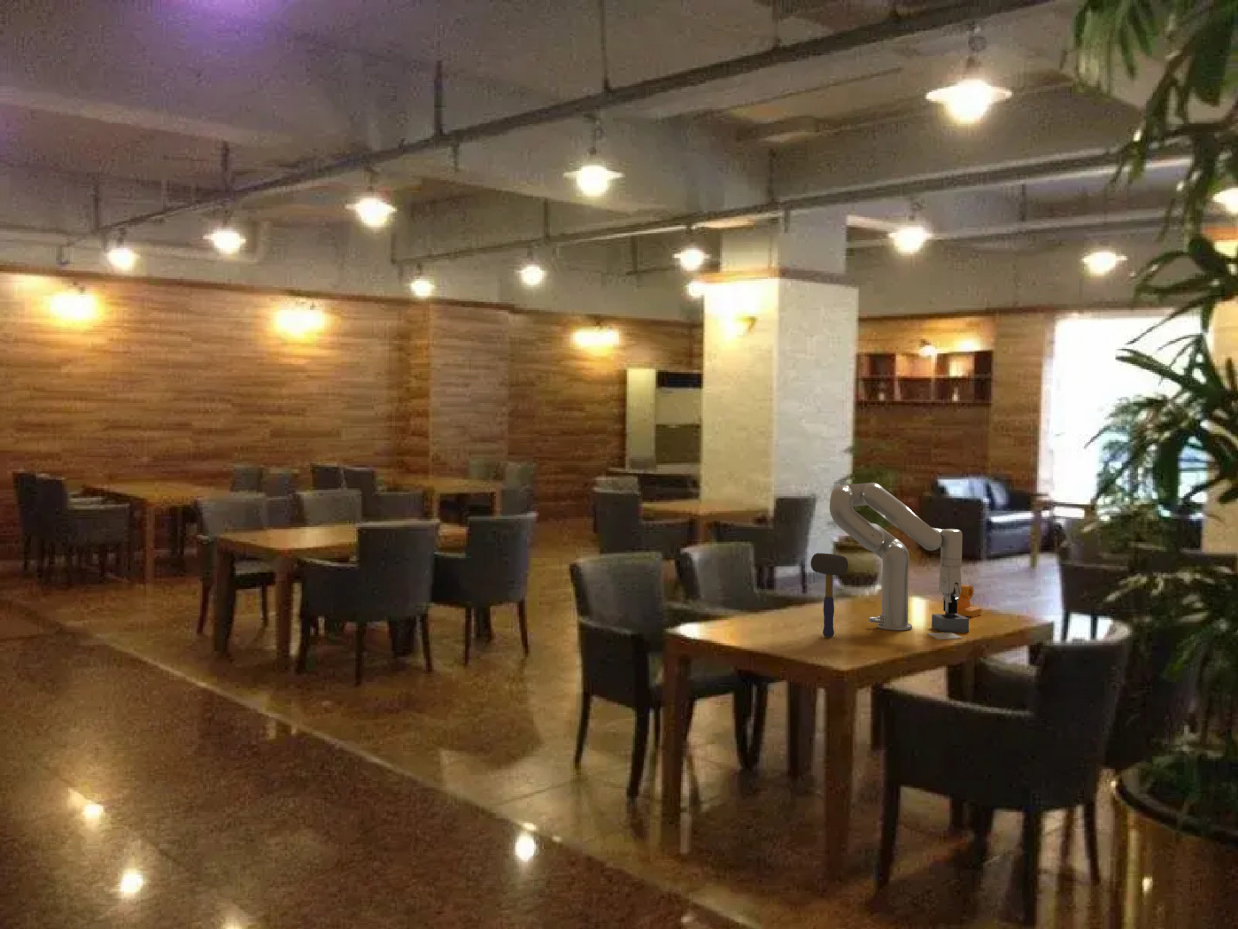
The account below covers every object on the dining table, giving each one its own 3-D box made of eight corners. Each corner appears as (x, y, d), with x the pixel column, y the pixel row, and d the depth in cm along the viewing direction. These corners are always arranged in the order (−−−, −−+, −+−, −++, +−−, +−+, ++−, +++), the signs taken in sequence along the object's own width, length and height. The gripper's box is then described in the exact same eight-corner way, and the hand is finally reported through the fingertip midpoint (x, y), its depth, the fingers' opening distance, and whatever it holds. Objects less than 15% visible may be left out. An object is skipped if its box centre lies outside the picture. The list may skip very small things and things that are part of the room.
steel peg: (946, 624, 423) (947, 588, 422) (941, 622, 427) (941, 586, 427) (958, 624, 423) (959, 588, 423) (953, 621, 428) (954, 586, 427)
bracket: (969, 618, 449) (970, 587, 449) (952, 616, 454) (952, 585, 454) (982, 614, 457) (982, 584, 456) (965, 612, 462) (965, 582, 461)
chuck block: (942, 632, 420) (942, 619, 420) (931, 627, 430) (931, 614, 430) (968, 632, 421) (968, 618, 421) (957, 627, 431) (957, 613, 431)
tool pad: (937, 639, 408) (937, 638, 408) (927, 634, 417) (927, 633, 417) (962, 639, 409) (962, 637, 409) (951, 634, 418) (951, 632, 418)
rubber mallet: (849, 638, 408) (850, 554, 407) (835, 641, 404) (836, 556, 402) (821, 633, 418) (822, 551, 416) (808, 636, 413) (808, 552, 411)
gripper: (932, 559, 432) (931, 608, 433) (950, 566, 416) (949, 616, 416) (951, 559, 433) (950, 608, 434) (970, 565, 416) (969, 616, 417)
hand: (950, 611), depth 425 cm, fingers closed on steel peg, 3 cm apart
